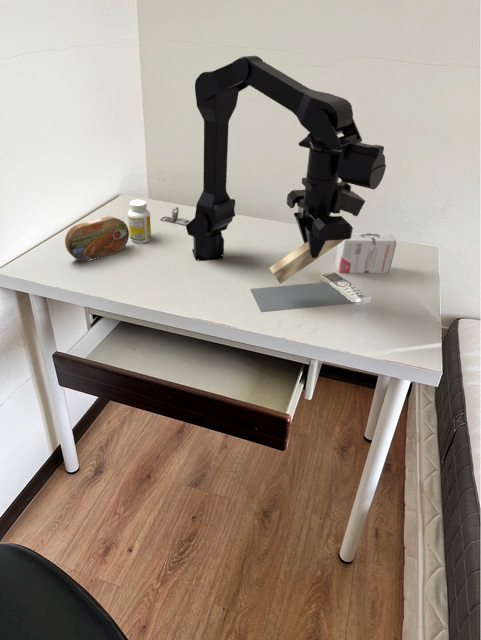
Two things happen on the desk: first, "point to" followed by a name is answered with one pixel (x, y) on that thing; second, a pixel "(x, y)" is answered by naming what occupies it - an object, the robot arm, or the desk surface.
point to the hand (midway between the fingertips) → (311, 254)
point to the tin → (96, 238)
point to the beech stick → (298, 260)
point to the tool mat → (297, 296)
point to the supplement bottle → (139, 222)
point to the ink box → (366, 253)
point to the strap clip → (176, 218)
